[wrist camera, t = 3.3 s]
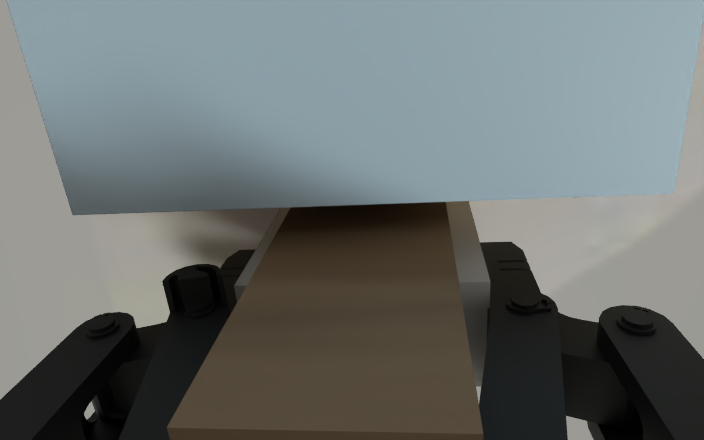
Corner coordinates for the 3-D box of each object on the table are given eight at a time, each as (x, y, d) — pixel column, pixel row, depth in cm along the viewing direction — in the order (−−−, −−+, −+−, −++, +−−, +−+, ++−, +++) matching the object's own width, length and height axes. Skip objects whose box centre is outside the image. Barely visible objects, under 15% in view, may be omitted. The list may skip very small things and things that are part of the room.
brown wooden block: (318, 158, 18) (166, 428, 7) (437, 153, 17) (483, 434, 6) (329, 263, 19) (221, 619, 8) (439, 260, 19) (477, 637, 8)
